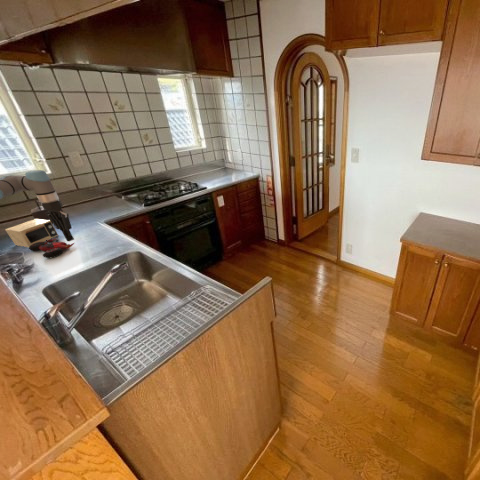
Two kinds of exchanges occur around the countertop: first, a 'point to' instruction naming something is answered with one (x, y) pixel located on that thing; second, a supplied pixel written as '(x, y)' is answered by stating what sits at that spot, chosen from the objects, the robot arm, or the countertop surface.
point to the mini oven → (32, 232)
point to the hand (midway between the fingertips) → (70, 240)
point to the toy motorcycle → (50, 247)
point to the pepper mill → (39, 212)
